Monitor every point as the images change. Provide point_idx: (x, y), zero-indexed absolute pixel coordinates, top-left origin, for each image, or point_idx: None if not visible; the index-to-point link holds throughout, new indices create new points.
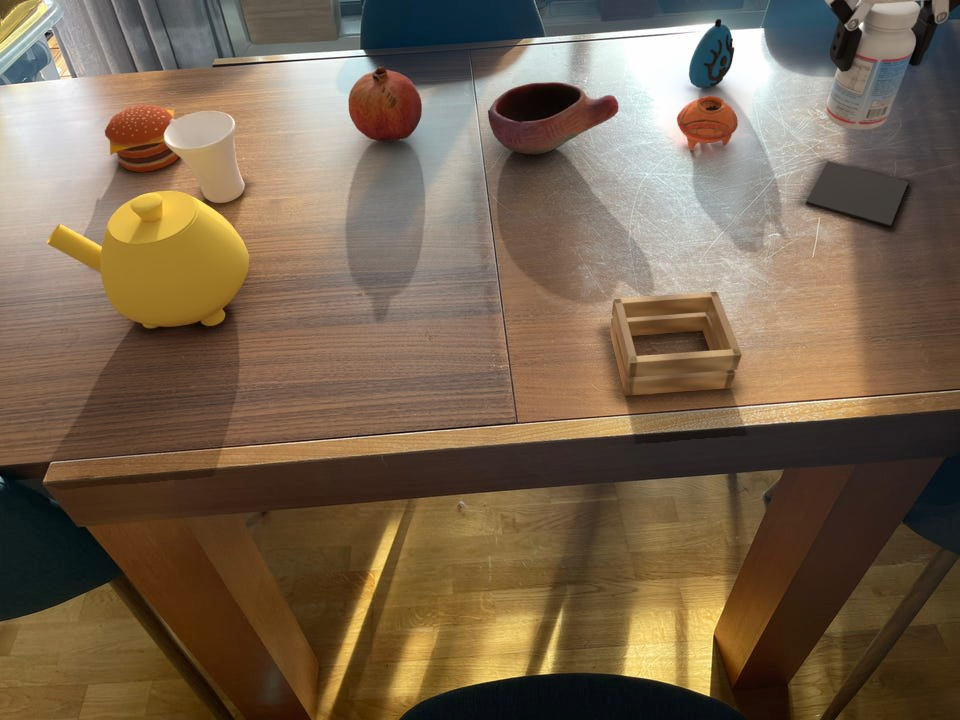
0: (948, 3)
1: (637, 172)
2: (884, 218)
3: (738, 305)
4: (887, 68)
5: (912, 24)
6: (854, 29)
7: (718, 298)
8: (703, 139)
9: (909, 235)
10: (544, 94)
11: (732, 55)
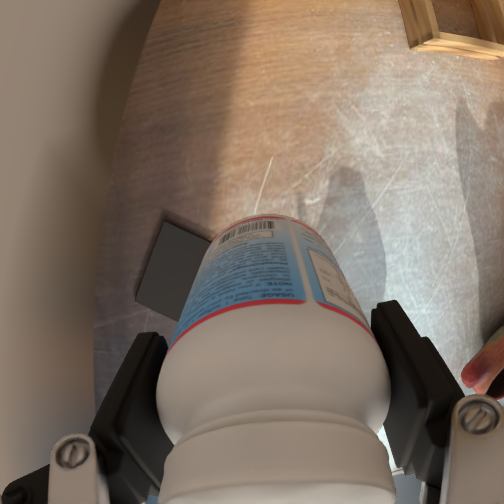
0: (49, 493)
1: (431, 313)
2: (169, 233)
3: (376, 74)
4: (266, 285)
5: (190, 443)
6: (459, 402)
7: (432, 27)
8: None
9: (146, 206)
10: (491, 391)
11: None
